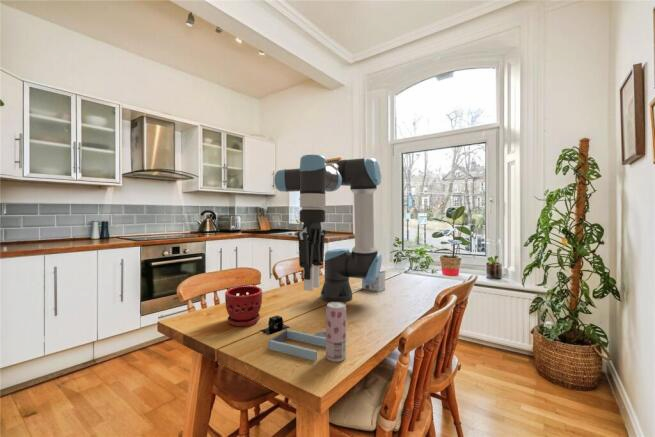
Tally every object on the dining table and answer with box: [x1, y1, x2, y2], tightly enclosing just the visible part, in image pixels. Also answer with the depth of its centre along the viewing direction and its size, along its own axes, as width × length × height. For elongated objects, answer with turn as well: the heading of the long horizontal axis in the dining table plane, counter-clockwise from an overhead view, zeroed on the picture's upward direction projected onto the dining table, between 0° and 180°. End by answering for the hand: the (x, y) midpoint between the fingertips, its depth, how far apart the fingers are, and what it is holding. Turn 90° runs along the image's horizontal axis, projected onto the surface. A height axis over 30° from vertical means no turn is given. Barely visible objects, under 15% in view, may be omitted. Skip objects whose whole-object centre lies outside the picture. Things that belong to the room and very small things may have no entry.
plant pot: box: [224, 285, 263, 327], centre depth 109 cm, size 13×13×12 cm
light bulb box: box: [361, 268, 386, 293], centre depth 158 cm, size 11×7×11 cm, turn 50°
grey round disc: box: [313, 331, 326, 338], centre depth 96 cm, size 8×8×1 cm
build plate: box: [259, 314, 291, 336], centre depth 104 cm, size 12×7×5 cm, turn 137°
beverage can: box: [325, 302, 347, 363], centre depth 84 cm, size 6×6×15 cm
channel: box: [267, 329, 326, 362], centre depth 89 cm, size 10×16×2 cm, turn 64°
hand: (311, 288), depth 87 cm, fingers open, 3 cm apart
